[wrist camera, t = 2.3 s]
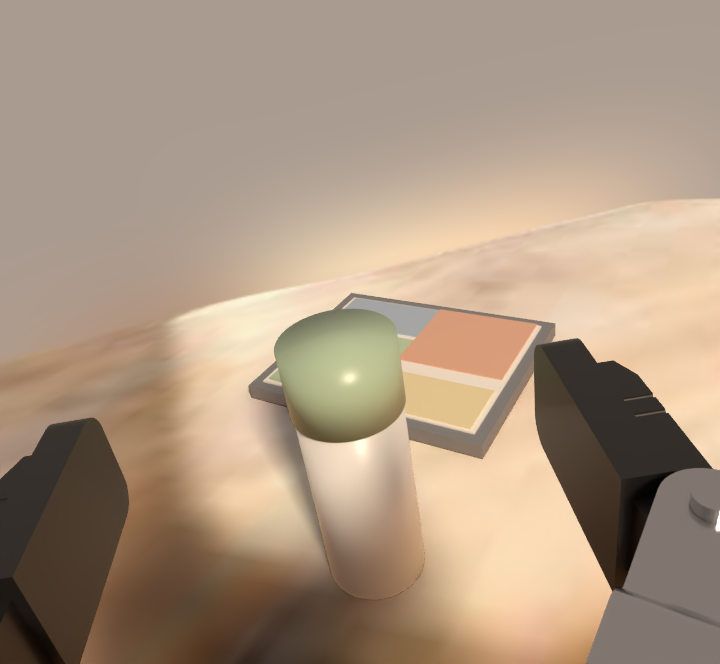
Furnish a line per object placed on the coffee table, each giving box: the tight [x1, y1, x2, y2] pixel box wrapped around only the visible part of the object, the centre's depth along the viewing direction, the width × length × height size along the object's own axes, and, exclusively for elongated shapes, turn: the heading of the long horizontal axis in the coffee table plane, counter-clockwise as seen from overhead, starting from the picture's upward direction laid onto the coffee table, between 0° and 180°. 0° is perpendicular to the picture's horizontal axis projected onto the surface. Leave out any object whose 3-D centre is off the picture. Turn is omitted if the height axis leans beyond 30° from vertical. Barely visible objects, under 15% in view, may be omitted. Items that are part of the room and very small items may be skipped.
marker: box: [274, 309, 425, 600], centre depth 27 cm, size 5×5×12 cm
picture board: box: [248, 293, 555, 459], centre depth 43 cm, size 16×13×1 cm
